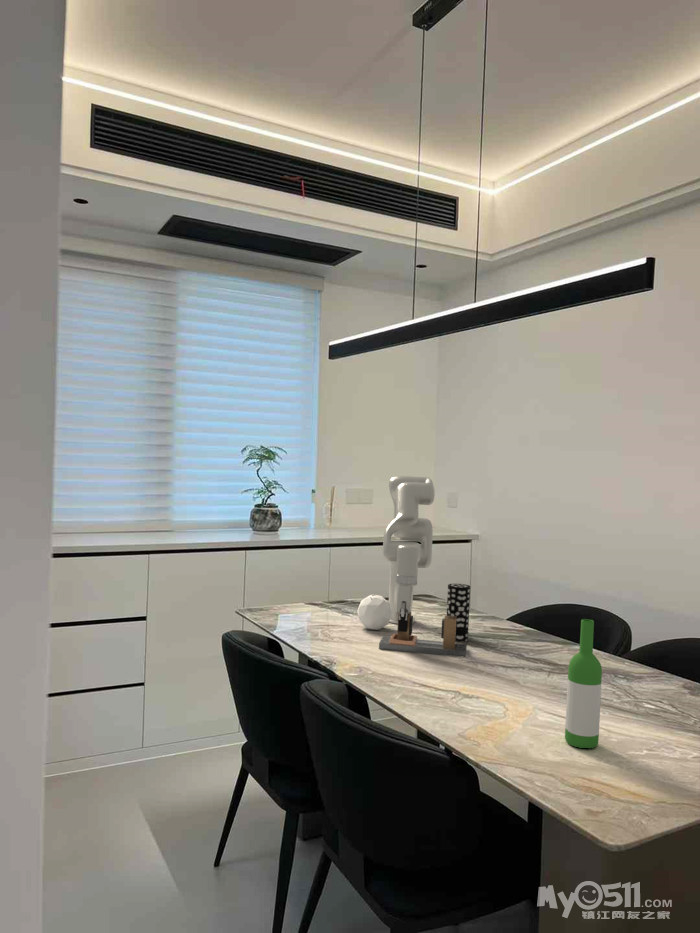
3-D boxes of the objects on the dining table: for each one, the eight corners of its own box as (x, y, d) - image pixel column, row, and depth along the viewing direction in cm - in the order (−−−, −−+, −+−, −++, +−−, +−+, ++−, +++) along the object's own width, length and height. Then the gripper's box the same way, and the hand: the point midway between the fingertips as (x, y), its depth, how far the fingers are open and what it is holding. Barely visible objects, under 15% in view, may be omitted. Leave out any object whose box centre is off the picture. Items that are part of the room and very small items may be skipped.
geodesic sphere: (389, 621, 266) (392, 588, 274) (352, 618, 268) (357, 585, 276) (391, 637, 277) (394, 605, 285) (356, 634, 280) (360, 602, 288)
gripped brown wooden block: (396, 642, 250) (398, 614, 250) (398, 639, 255) (399, 611, 255) (410, 644, 249) (411, 615, 249) (412, 640, 254) (413, 612, 254)
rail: (382, 641, 259) (384, 608, 258) (466, 649, 253) (468, 615, 253) (378, 648, 249) (380, 614, 249) (465, 657, 243) (467, 622, 243)
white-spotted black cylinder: (461, 643, 262) (463, 588, 262) (441, 638, 267) (443, 585, 267) (471, 638, 268) (474, 585, 268) (452, 634, 274) (454, 582, 273)
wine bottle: (591, 738, 176) (597, 617, 176) (603, 751, 168) (609, 624, 168) (560, 737, 176) (566, 615, 175) (570, 750, 168) (577, 623, 168)
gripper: (398, 575, 261) (396, 621, 261) (392, 583, 244) (390, 633, 244) (419, 576, 260) (417, 623, 260) (414, 584, 243) (412, 635, 243)
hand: (404, 628), depth 252 cm, fingers open, 9 cm apart
